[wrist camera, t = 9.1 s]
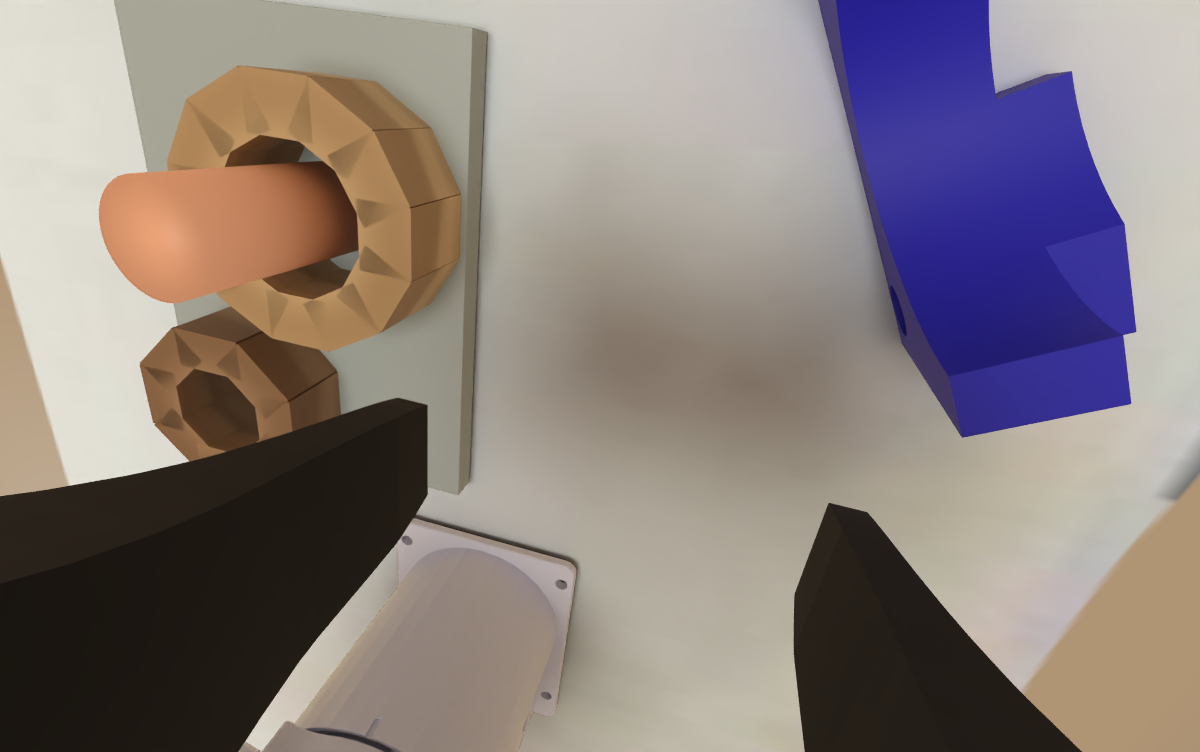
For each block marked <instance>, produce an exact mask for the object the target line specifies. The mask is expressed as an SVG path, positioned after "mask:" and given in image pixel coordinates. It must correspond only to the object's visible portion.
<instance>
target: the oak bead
mask: <svg viewBox="0 0 1200 752" xmlns="http://www.w3.org/2000/svg"><path fill="white" fill-rule="evenodd" d="M304 147H306V148H308V149H309V150H310V151H311V152H313V153H314V154H315V155H316V156H317V157H319V158H320V159H321V160H322V161H324V162H325V163H326V164H327V165H328V166H330V167H331V168H332V169H333V170H334V171H335V172H336V174H337V176H338V178H339V180H340V182H341V184H342V185H343V187H344V189H345V191H346V193H347V195H348V197H349V199H350V201H351V203H352V205H353V207H354V209H355V211H356V213H357V224H358V244H359V258H358V259H357V261H356V263H355V265H354V267H353V269H352V271H350V270H346V269H341V268H340V267H338V266H337V265H336V264H335V263H333V262H332V261H331V260H330V259H327V260H324V261H321V262H317V263H314V264H310V265H307V266H304V267H300V268H297V269H293V270H290V271H287V272H283V273H280V274H276V275H273V276H270V277H266V278H263V279H259V280H256V281H253V282H249V283H246V284H243V285H239V286H236V287H232V288H229V289H226V290H222V291H219V292H216V294H217V295H219V297H220V298H221V299H222V300H223V301H225V302H226V303H227V304H229V305H230V306H231V307H232V308H234V309H235V310H236V311H237V312H239V313H240V314H241V315H243V316H244V317H245V318H246V319H248V320H249V321H250V322H251V323H253V324H254V325H255V326H257V327H258V328H259V329H260V330H262V331H263V332H264V333H266V334H267V335H268V336H269V337H271V338H273V339H277V340H281V341H285V342H290V343H294V344H298V345H302V346H307V347H311V348H315V349H319V350H324V351H328V352H331V351H334V350H336V349H339V348H342V347H344V346H347V345H350V344H352V343H355V342H358V341H360V340H363V339H366V338H369V337H371V336H374V335H377V334H379V333H381V332H383V331H385V330H386V329H388V328H390V327H392V326H393V325H395V324H397V323H398V322H400V321H402V320H403V319H405V318H407V317H409V316H410V315H412V314H414V313H415V312H417V311H419V310H421V309H422V308H424V307H426V306H427V305H429V304H431V302H432V301H433V299H434V298H435V296H436V294H437V293H438V291H439V290H440V288H441V287H442V285H443V284H444V282H445V280H446V279H447V277H448V276H449V274H450V273H451V271H452V270H453V268H454V266H455V265H456V263H457V262H458V260H459V258H460V225H461V192H460V190H459V188H458V186H457V183H456V181H455V179H454V177H453V174H452V172H451V170H450V168H449V166H448V163H447V161H446V159H445V157H444V155H443V152H442V150H441V148H440V146H439V144H438V141H437V139H436V137H435V135H434V133H433V130H432V128H431V127H430V126H429V125H428V124H426V123H425V122H424V121H423V120H422V119H420V118H419V117H418V116H417V115H416V114H415V113H413V112H412V111H411V110H410V109H409V108H407V107H406V106H405V105H404V104H403V103H401V102H400V101H399V100H398V99H397V98H395V97H394V96H393V95H392V94H391V93H390V92H388V91H387V90H386V89H385V88H384V87H382V86H381V85H380V84H379V83H378V82H375V81H369V80H362V79H356V78H349V77H342V76H336V75H329V74H323V73H316V72H305V71H294V70H284V69H273V68H262V67H251V66H240V65H238V66H236V67H234V68H233V69H231V70H230V71H228V72H227V73H225V74H224V75H222V76H221V77H219V78H218V79H216V80H214V81H213V82H211V83H210V84H208V85H207V86H205V87H204V88H202V89H201V90H199V91H198V92H196V93H195V94H193V95H192V96H190V97H189V98H187V100H186V101H185V104H184V108H183V111H182V114H181V117H180V120H179V124H178V127H177V130H176V133H175V137H174V140H173V143H172V146H171V150H170V153H169V156H168V159H167V162H168V163H167V167H168V171H175V170H190V169H205V168H220V167H235V166H250V165H265V164H281V163H296V162H298V161H299V159H300V157H301V154H302V152H303V150H304Z"/></svg>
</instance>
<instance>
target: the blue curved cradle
mask: <svg viewBox="0 0 1200 752" xmlns="http://www.w3.org/2000/svg"><path fill="white" fill-rule="evenodd" d="M818 1H819V5H820V10H821V14H822V18H823V22H824V26H825V30H826V34H827V38H828V42H829V46H830V50H831V54H832V59H833V63H834V67H835V71H836V75H837V79H838V83H839V87H840V91H841V95H842V99H843V104H844V108H845V112H846V116H847V120H848V124H849V128H850V132H851V136H852V140H853V144H854V149H855V153H856V157H857V161H858V165H859V169H860V173H861V177H862V181H863V185H864V189H865V194H866V198H867V202H868V206H869V210H870V214H871V218H872V222H873V226H874V230H875V234H876V238H877V243H878V247H879V251H880V255H881V259H882V263H883V267H884V271H885V275H886V279H887V283H888V288H889V292H890V296H891V300H892V304H893V308H894V312H895V316H896V320H897V324H898V328H899V333H900V337H901V341H902V344H903V346H904V347H905V349H906V350H907V352H908V354H909V355H910V357H911V358H912V360H913V361H914V363H915V365H916V366H917V368H918V369H919V371H920V372H921V374H922V376H923V377H924V379H925V380H926V382H927V383H928V385H929V387H930V388H931V390H932V391H933V393H934V394H935V396H936V397H937V399H938V401H939V402H940V404H941V405H942V407H943V408H944V410H945V412H946V413H947V415H948V416H949V418H950V419H951V421H952V423H953V424H954V426H955V427H956V429H957V430H958V432H959V434H960V435H961V437H962V438H963V437H968V436H973V435H978V434H983V433H988V432H993V431H998V430H1003V429H1008V428H1013V427H1018V426H1023V425H1028V424H1033V423H1038V422H1043V421H1048V420H1053V419H1058V418H1063V417H1068V416H1073V415H1078V414H1083V413H1088V412H1093V411H1098V410H1103V409H1108V408H1113V407H1118V406H1123V405H1128V404H1131V397H1130V389H1129V381H1128V372H1127V364H1126V355H1125V347H1124V338H1123V335H1125V334H1129V333H1134V332H1136V324H1135V315H1134V306H1133V297H1132V288H1131V279H1130V270H1129V261H1128V252H1127V243H1126V234H1125V225H1124V223H1123V221H1122V219H1121V218H1120V216H1119V214H1118V212H1117V211H1116V209H1115V207H1114V205H1113V204H1112V202H1111V200H1110V198H1109V196H1108V194H1107V192H1106V190H1105V187H1104V185H1103V183H1102V181H1101V179H1100V176H1099V174H1098V171H1097V169H1096V167H1095V164H1094V161H1093V158H1092V155H1091V153H1090V150H1089V147H1088V144H1087V140H1086V137H1085V133H1084V130H1083V127H1082V123H1081V118H1080V114H1079V110H1078V106H1077V101H1076V95H1075V90H1074V84H1073V77H1072V71H1070V72H1062V73H1054V74H1046V75H1044V76H1041V77H1038V78H1036V79H1033V80H1031V81H1028V82H1025V83H1023V84H1020V85H1017V86H1015V87H1012V88H1009V89H1007V90H1004V91H1001V92H999V93H996V94H995V87H994V80H993V72H992V63H991V52H990V37H989V0H818Z"/></svg>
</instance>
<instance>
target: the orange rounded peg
mask: <svg viewBox="0 0 1200 752" xmlns="http://www.w3.org/2000/svg"><path fill="white" fill-rule="evenodd" d="M99 221H100V228H101V232H102V236H103V239H104V242H105V245H106V247H107V249H108V251H109V253H110V255H111V257H112V259H113V261H114V262H115V264H116V265H117V267H118V268H119V270H120V271H121V272H122V273H123V275H124V276H125V277H126V278H127V279H128V280H129V281H130V282H131V283H132V284H133V285H134V286H135V287H137V288H138V289H139V290H140V291H142V292H143V293H145V294H146V295H148V296H150V297H152V298H154V299H157V300H159V301H163V302H167V303H181V302H185V301H188V300H192V299H195V298H198V297H202V296H205V295H209V294H212V293H215V292H219V291H222V290H226V289H229V288H232V287H236V286H239V285H243V284H246V283H249V282H253V281H256V280H259V279H263V278H266V277H270V276H273V275H276V274H280V273H283V272H287V271H290V270H293V269H297V268H300V267H304V266H307V265H310V264H314V263H317V262H321V261H324V260H327V259H331V258H334V257H338V256H341V255H344V254H348V253H351V252H355V251H358V250H359V244H358V224H357V213H356V211H355V209H354V207H353V205H352V203H351V201H350V199H349V197H348V195H347V193H346V191H345V189H344V187H343V185H342V184H341V182H340V180H339V178H338V176H337V174H336V172H335V171H334V170H333V169H332V168H331V167H330V166H328V165H327V164H326V163H325V162H324V161H311V162H296V163H281V164H265V165H250V166H235V167H220V168H205V169H190V170H175V171H160V172H145V173H131V174H124V175H121V176H118V177H117V178H115V179H113V180H112V181H111V182H110V183H109V184H108V185H107V187H106V188H105V190H104V192H103V194H102V197H101V200H100V206H99Z"/></svg>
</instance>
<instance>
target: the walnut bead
mask: <svg viewBox="0 0 1200 752" xmlns="http://www.w3.org/2000/svg"><path fill="white" fill-rule="evenodd" d="M140 368H141V372H142V377H143V381H144V385H145V389H146V394H147V398H148V402H149V406H150V411H151V415H152V419H153V423H156V424H155V426H156V427H157V428H158V429H159V430H160V431H161V432H162V433H163V434H164V435H165V436H166V437H167V438H168V439H169V440H170V441H171V442H172V444H173V445H174V446H175V447H176V448H177V449H178V450H179V451H180V452H181V453H182V454H183V455H184V456H185V457H186V458H187V459H188V460H189V461H194V460H198V459H202V458H206V457H209V456H213V455H217V454H220V453H224V452H227V451H230V450H234V449H237V448H240V447H243V446H247V445H250V444H253V443H257V442H260V441H263V440H266V439H270V438H273V437H276V436H280V435H283V434H286V433H289V432H292V431H295V430H298V429H301V428H304V427H307V426H310V425H313V424H316V423H318V422H321V421H324V420H327V419H330V418H333V417H336V416H339V415H341V407H340V394H339V380H338V372H336V371H337V370H336V369H335V367H334V366H333V365H332V364H331V363H330V362H329V360H328V359H327V358H326V357H325V356H324V355H323V354H322V352H321V351H320V350H319V349H315V348H311V347H307V346H302V345H298V344H294V343H290V342H285V341H281V340H277V339H273V338H271V337H269V336H268V335H267V334H266V333H264V332H263V331H262V330H260V329H259V328H258V327H257V326H255V325H254V324H253V323H251V322H250V321H249V320H248V319H246V318H245V317H244V316H243V315H241V314H240V313H239V312H237V311H236V310H235V309H234V308H232V307H231V306H230V307H228V308H225V309H222V310H219V311H217V312H214V313H211V314H209V315H206V316H203V317H200V318H198V319H195V320H192V321H190V322H187V323H184V324H181V325H179V326H176V327H173V328H171V329H170V331H169V332H168V333H167V334H166V335H165V336H164V337H163V338H162V339H161V340H160V342H159V343H158V344H157V345H156V346H155V347H154V348H153V349H152V350H151V351H150V352H149V354H148V355H147V356H146V357H145V358H144V359H143V360H142V361H141V362H140Z"/></svg>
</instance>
